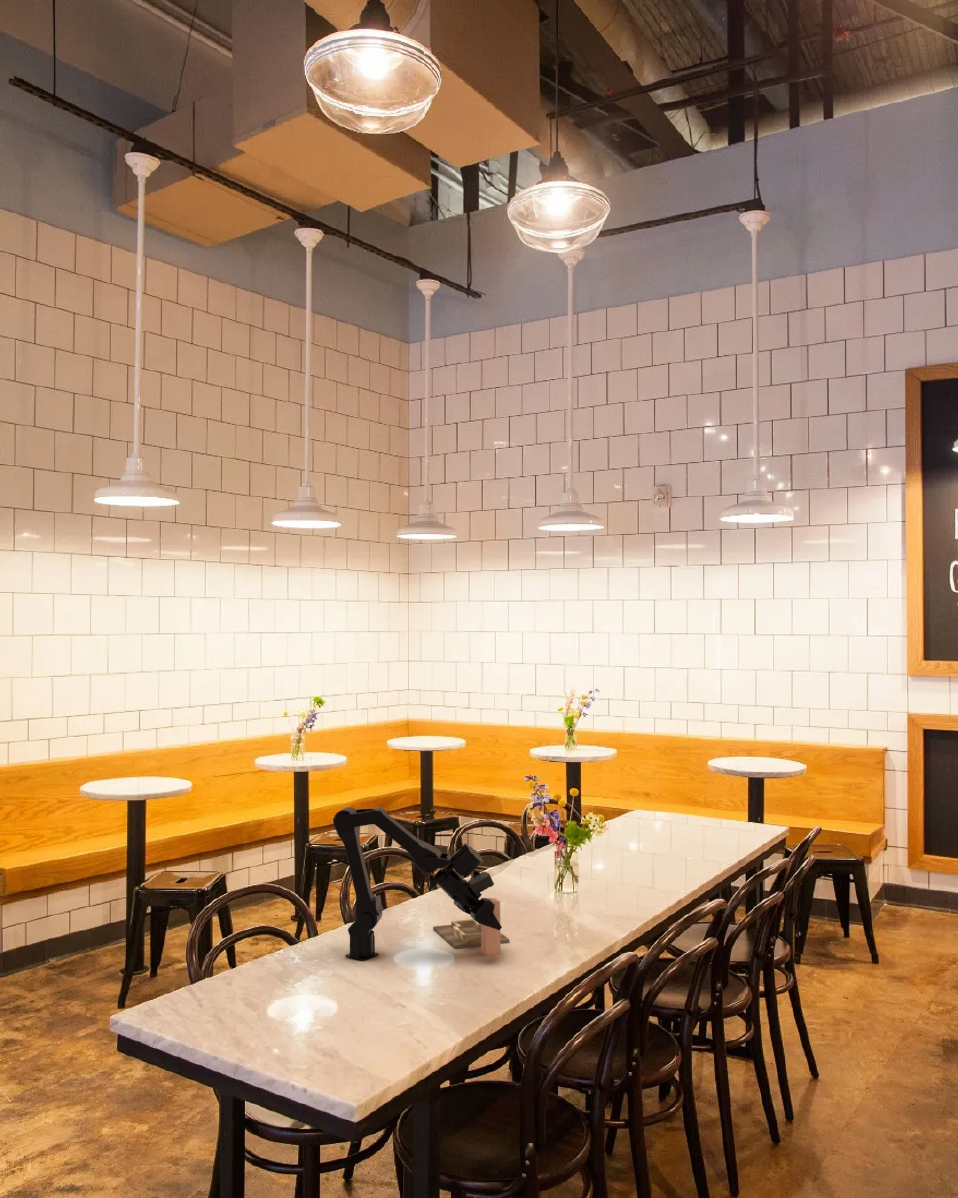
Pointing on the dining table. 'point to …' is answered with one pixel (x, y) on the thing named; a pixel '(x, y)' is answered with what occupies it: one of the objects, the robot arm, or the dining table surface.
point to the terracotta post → (491, 933)
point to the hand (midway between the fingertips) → (494, 924)
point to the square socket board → (463, 934)
